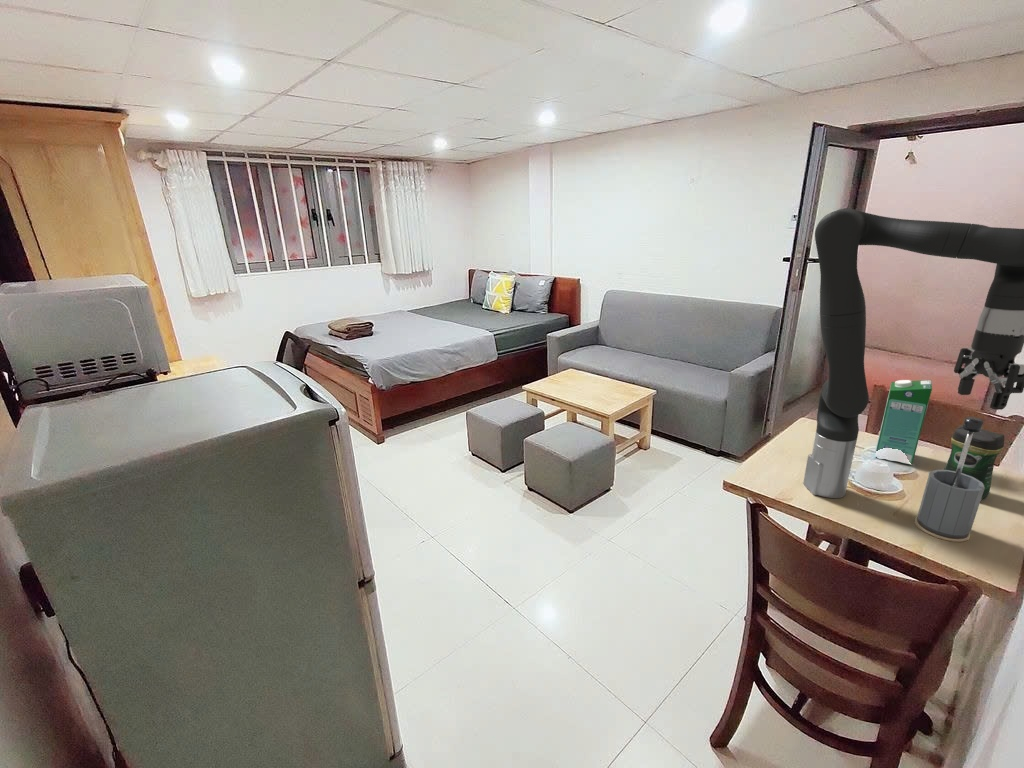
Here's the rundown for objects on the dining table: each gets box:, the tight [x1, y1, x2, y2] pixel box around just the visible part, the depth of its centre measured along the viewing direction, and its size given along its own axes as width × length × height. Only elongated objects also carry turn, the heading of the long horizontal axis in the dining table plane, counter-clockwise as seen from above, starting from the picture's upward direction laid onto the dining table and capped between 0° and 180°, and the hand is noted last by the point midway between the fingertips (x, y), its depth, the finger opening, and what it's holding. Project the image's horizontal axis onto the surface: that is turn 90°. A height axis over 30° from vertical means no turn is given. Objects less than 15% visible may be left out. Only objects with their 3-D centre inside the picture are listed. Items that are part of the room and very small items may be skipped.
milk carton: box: [875, 379, 933, 465], centre depth 142 cm, size 9×9×25 cm
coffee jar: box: [943, 424, 1005, 500], centre depth 124 cm, size 10×8×19 cm
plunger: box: [945, 416, 985, 489], centre depth 106 cm, size 7×7×19 cm
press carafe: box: [914, 469, 985, 543], centre depth 111 cm, size 10×10×14 cm
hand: (979, 401), depth 102 cm, fingers open, 8 cm apart
